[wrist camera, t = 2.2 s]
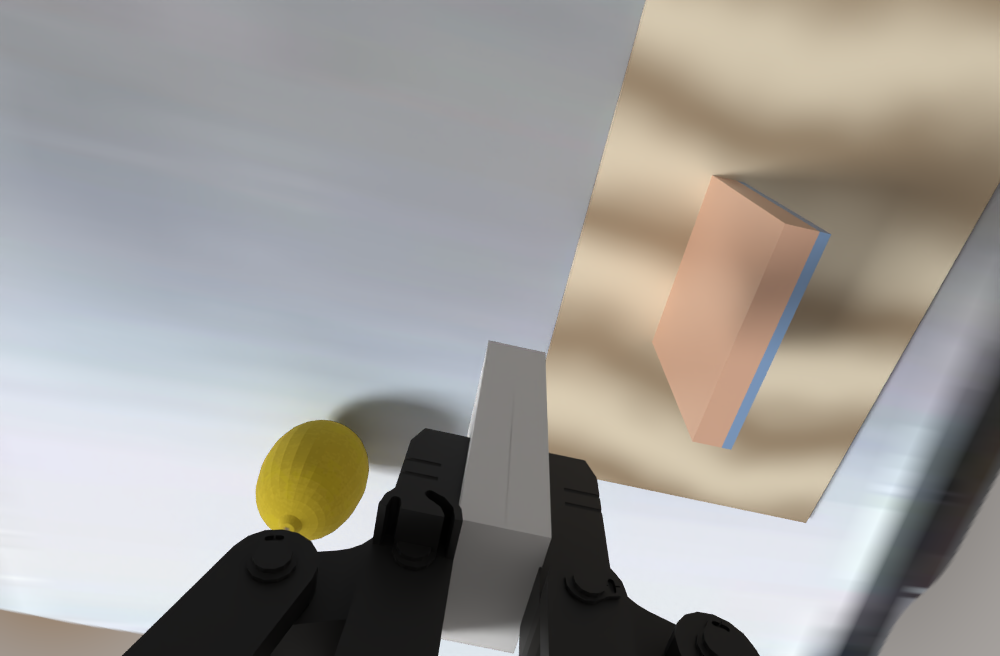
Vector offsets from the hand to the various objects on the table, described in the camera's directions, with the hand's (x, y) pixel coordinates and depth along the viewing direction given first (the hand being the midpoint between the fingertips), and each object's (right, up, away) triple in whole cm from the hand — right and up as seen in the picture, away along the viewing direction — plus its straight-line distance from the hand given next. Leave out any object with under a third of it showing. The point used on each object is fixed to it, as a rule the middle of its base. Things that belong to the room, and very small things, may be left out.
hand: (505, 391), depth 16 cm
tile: (+10, +5, +14) cm, 18 cm away
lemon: (-10, -5, +20) cm, 23 cm away
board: (+13, +4, +15) cm, 20 cm away
